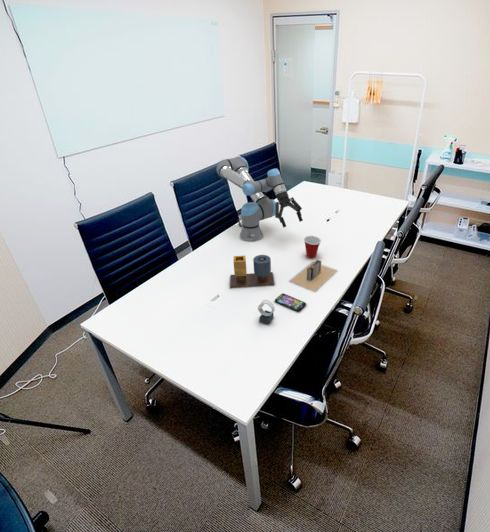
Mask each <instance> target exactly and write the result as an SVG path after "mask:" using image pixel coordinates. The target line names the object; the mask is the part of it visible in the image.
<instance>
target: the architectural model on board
mask: <svg viewBox="0 0 490 532" xmlns="http://www.w3.org/2000/svg"><path fill="white" fill-rule="evenodd" d="M336 272H337V270H335V269H332V268H330V267H326V266H323V265H322V260H319V259H317V260H315V261H314V262H311V263H310V264H309V265H308V266H307V267H305V268H304V269H303V270H301V272H299V273H298V274H297V275H296V276H294V277H293V278H292V279H291V280H289V282H291V283H292V284H295V285H297V286H300V287H302V288H305V289H308V290H310V291H312V292H316V291H317V290H318V289H319V288H320V287H322V286H323V284H324V283H326V282H327V281H328V280H329V279H330V278H331V277H332V276H333V275H334V274H335V273H336Z"/></svg>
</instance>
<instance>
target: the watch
mask: <svg viewBox="0 0 490 532" xmlns="http://www.w3.org/2000/svg"><path fill="white" fill-rule="evenodd" d="M264 305H267V306H269V308H270V309H271V311H269V310H266V309H265V310H264V309H263V307H264ZM257 310H258V312H259V313H260V316H259V323H262V324H265V325H269V324H270V323H271V321H272V320H273V318H274V312H275V311H276V309H275V305H274V304H273V303H272V302H271V301H270V300H267V299H263V300H262V301H261V302H260V304H259V305H257Z"/></svg>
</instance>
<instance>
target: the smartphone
mask: <svg viewBox="0 0 490 532" xmlns="http://www.w3.org/2000/svg"><path fill="white" fill-rule="evenodd" d="M274 302H275V303H277V304H279V305H282V306H283V307H286V308H288V309H291V310H293V311H295V312H301V311H302V310H303V308H305V307H306V305H307V303H306V302H305V301H302V300H301V299H299V298H296V297H293V296H291V295H289V294H286V293H283V292H282V293H281V294H280V295H278V296H277V297H276V298H275V299H274Z"/></svg>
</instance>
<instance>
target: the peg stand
mask: <svg viewBox="0 0 490 532" xmlns="http://www.w3.org/2000/svg"><path fill="white" fill-rule="evenodd" d="M237 261H242V260H241V259H238V260H237ZM260 261H264V258H260ZM229 279H230V281H229V282H230V283H229V288H230V289H236V288H253V287H254V288H255V287H267V286H275V281H274V273H273V271H271V272H270V274H268V275H266V276H258V275H256V274H255V273H254V272H251V273H247V276H235V274H230V278H229Z"/></svg>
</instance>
